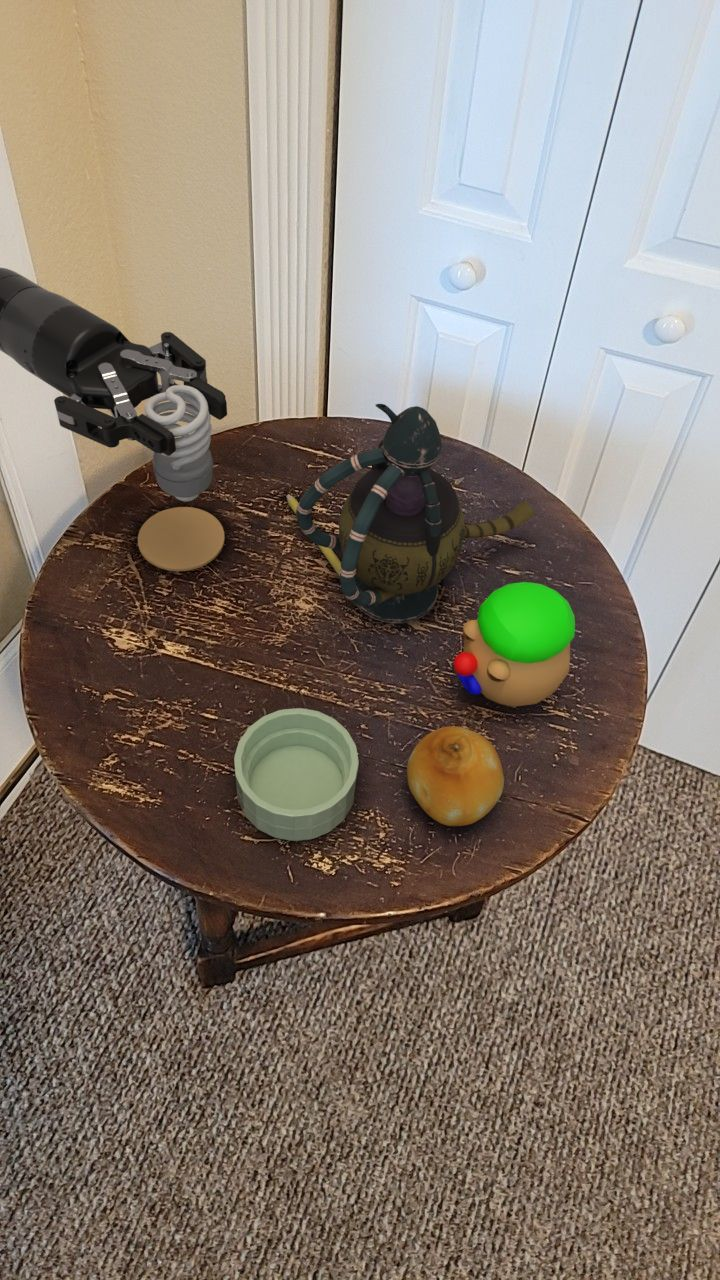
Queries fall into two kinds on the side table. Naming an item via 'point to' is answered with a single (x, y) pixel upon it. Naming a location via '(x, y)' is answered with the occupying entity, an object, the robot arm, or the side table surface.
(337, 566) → the pencil
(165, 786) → the side table surface
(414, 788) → the fruit
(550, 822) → the side table surface
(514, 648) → the figurine
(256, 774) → the bowl
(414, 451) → the teapot
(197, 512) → the coaster
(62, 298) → the robot arm
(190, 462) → the light bulb
